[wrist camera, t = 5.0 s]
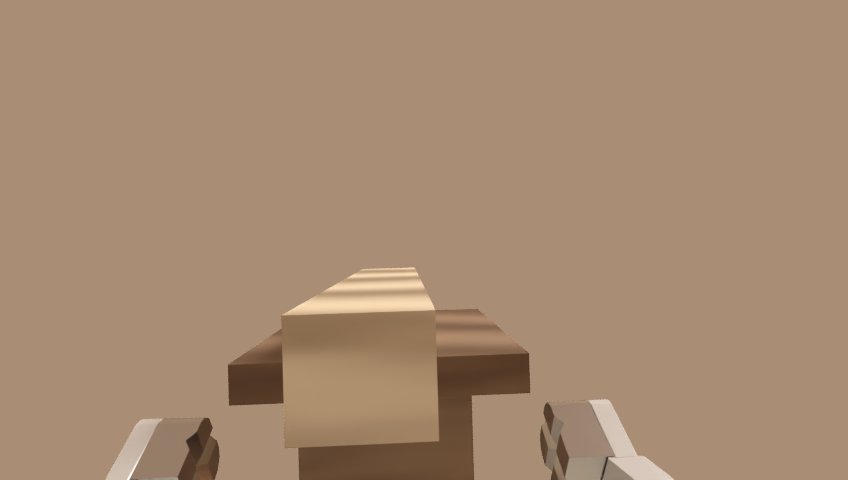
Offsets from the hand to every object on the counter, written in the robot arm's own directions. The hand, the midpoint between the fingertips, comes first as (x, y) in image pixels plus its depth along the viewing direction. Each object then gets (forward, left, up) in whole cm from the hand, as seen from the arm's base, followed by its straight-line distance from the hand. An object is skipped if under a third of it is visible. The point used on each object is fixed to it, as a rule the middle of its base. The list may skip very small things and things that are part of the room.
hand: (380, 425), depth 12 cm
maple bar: (-5, +9, 0) cm, 10 cm away
